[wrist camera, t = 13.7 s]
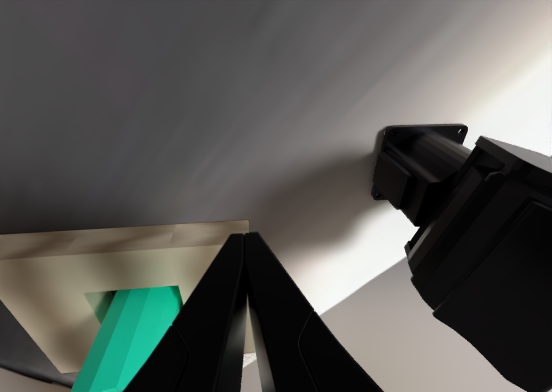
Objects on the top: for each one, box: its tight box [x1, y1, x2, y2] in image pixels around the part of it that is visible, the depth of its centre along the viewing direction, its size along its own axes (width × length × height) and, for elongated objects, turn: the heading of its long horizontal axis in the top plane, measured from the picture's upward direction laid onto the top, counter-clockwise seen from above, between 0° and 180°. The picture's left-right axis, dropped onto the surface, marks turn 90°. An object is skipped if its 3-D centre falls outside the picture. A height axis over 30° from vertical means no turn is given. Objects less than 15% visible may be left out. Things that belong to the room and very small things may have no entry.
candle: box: [71, 285, 182, 392], centre depth 22 cm, size 6×6×12 cm
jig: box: [0, 220, 256, 373], centre depth 26 cm, size 20×16×3 cm
